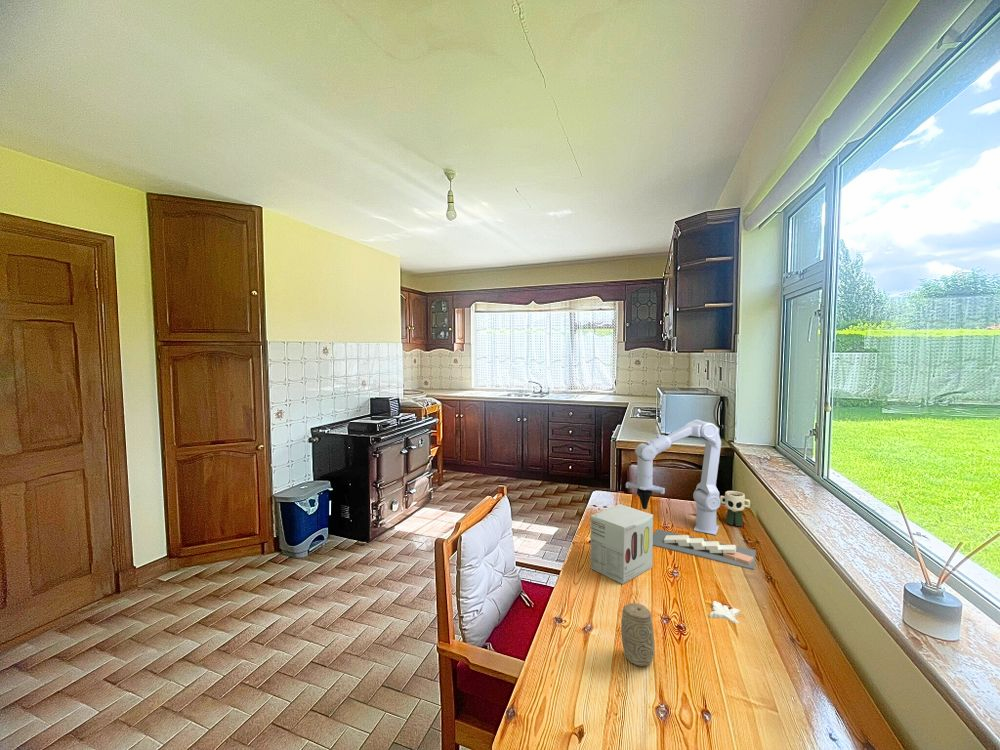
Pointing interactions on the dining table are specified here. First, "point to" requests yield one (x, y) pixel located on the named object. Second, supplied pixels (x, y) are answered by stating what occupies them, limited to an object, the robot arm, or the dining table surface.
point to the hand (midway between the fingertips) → (644, 508)
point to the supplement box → (621, 542)
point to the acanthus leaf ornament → (724, 612)
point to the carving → (637, 634)
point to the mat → (659, 542)
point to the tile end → (739, 557)
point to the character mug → (734, 506)
